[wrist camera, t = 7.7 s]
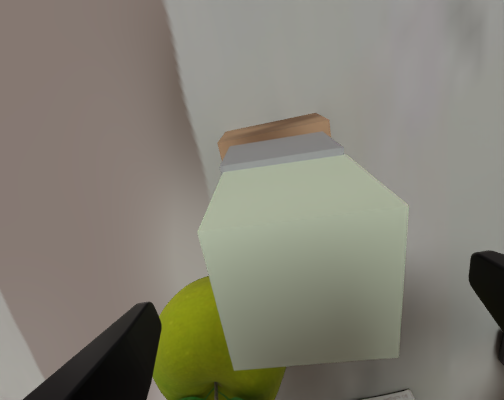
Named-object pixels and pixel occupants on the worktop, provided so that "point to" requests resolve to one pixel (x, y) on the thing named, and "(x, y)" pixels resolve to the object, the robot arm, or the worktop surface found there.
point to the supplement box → (395, 396)
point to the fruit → (204, 353)
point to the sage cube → (306, 263)
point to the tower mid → (280, 151)
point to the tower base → (274, 131)
